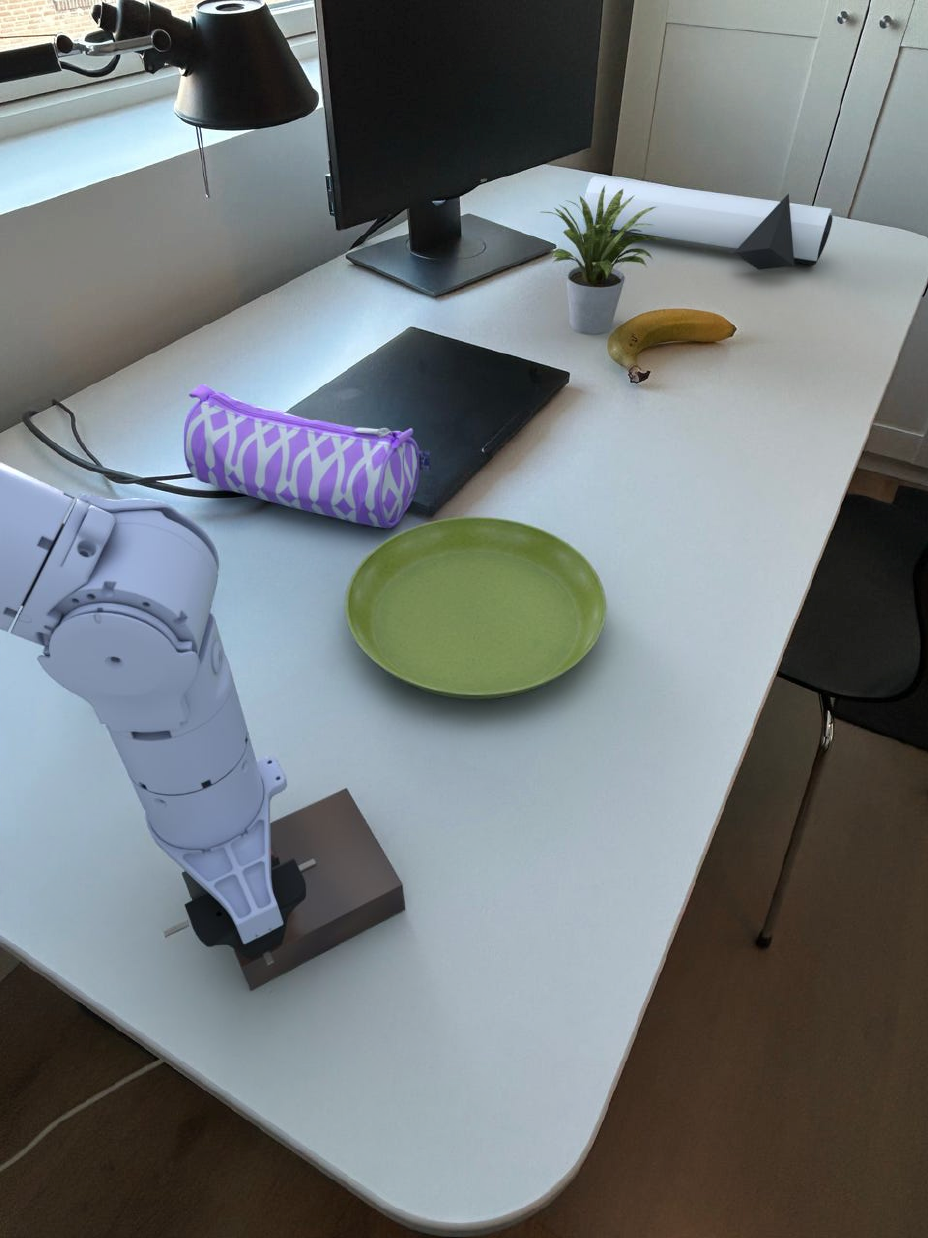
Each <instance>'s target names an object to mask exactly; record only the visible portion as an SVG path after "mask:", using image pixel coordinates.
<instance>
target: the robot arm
mask: <svg viewBox="0 0 928 1238" xmlns="http://www.w3.org/2000/svg"><path fill="white" fill-rule="evenodd" d="M75 499H76V500H75ZM74 501H75V502H74ZM73 503H74V504H73ZM72 504H73V506H72ZM71 506H72V507H71ZM70 509H71V510H70ZM69 510H70V511H69ZM68 513H69V514H68ZM67 515H68V516H67ZM66 516H67V518H66ZM65 519H66V520H65ZM219 570H220V559H219V552H218V550H217V548H216V545H215V543H214V542H213V540H212V538H211V537H210V535H209V534H208V533H207V532H206V531H205V530H204V529H203V528H202V527H201V526H200V525H199V524H198V523H197V522H195V521H194V520H193V519H191V518H190V517H189V516H187V515H185V514H183V513H181V512H179V511H178V510H177V509H175V508H174V507H173V505H171V504H169V503H167V502H164V501H159V500H155V499H149V498H148V499H147V498H138V497H137V498H123V499H107V498H104V497H101V496H99V495H97V494H95V493H92V492H91V494H90V495H86V494H85V493H80V494H79V495H78V497H77V498H76V496H74V495H73V494H69V493H68V492H65V491H63V490H61V489H58V488H57V487H55V486H52V485H51V484H49V483H47V482H44V481H42V480H39V479H37V478H36V477H34V476H31V475H29V474H27V473H25V472H22V471H20V470H18V469H17V468H14V467H12V466H10V465H7V464H5V463H3V462H1V461H0V630H1V631H4V632H6V633H8V632H9V630H10V629H11V630H10V634H11V635H14V636H16V637H19V638H22V639H24V640H27V641H29V642H32V643H34V644H37V645H39V646H42V647H44V648H43V650H42V654H41V655H38V656H37V658H36V661H38V663H39V665H40V666H41V668H42V670H44V672H45V673H46V675H48V676H49V678H51V679H52V680H53V681H55V683H57V684H58V685H59V686H61V687H62V688H63V689H65V690H67V691H69V692H71V693H72V694H74V695H76V696H78V697H80V698H81V699H83V701H85V702H87V703H88V704H89V705H90V706H91V708H92V709H93V711H94V713H95V716H96V717H97V720H98V721H99V724H100V725H105V727H106V729H107V731H108V733H109V735H110V738H111V740H112V742H113V744H114V747H115V749H116V751H117V753H118V755H119V757H120V760H121V761H122V764H123V767H124V769H125V771H126V772H127V775H128V778H129V779H130V781H131V784H132V787H133V789H134V790H135V793H136V795H137V797H138V799H139V802H140V803H141V806H142V808H143V810H144V819H145V823H146V827H147V829H148V832H149V834H150V836H151V838H152V839H153V841H154V844H156V845H157V846H158V847H159V848H160V849H161V850H162V851H163V852H164V853H165V854H166V855H168V857H169V858H171V859H172V860H173V861H174V862H175V863H176V864H177V866H179V867H180V868H181V869H183V870H184V871H186V872H187V873H188V874H189V875H190V876H191V877H192V878H193V879H195V880H196V881H197V882H198V883H199V884H200V885H201V886H202V887H203V888H204V889H205V890H206V891H207V892H209V893H207V894H205V895H202V896H200V897H198V898H196V899H194V900H192V899H191V900H190V901H188V902H186V903H184V908H185V910H186V913H187V916H188V919H189V921H190V924H191V927H192V929H193V932H194V933H195V936H196V937H197V939H198V940H199V941H200V943H202V944H203V945H204V946H206V947H207V948H213V947H217V946H228V947H229V948H232V949H233V950H234V949H235V950H236V951H237V952H238V953H239V954H241V955H242V956H244V957H245V958H247V959H249V960H252V959H254V958H256V957H258V956H260V955H262V954H264V953H266V952H268V951H270V950H272V949H274V948H275V947H277V946H279V945H281V944H282V943H283V940H284V936H285V931H286V925H287V920H288V917H289V915H290V913H291V912H292V911H293V910H294V909H295V907H296V906H297V905H299V904H300V903H301V902H302V901H303V900H304V899H305V898H306V883H305V880H304V877H303V875H302V873H301V871H300V869H299V867H298V865H297V863H296V861H295V859H294V858H292V859H290V860H288V861H286V862H284V863H282V864H280V865H278V866H276V867H274V868H272V869H271V837H270V823H271V800H272V798H273V797H274V796H276V795H278V794H280V793H282V792H284V791H285V790H286V789H287V787H288V781H287V777H286V774H285V772H284V770H283V768H282V767H281V764H280V763H279V761H278V759H276V758H275V757H273V756H265V757H263V758H260V759H258V760H257V758H256V755H255V752H254V748H253V745H252V741H251V737H250V734H249V731H248V730H249V729H248V725H247V723H246V719H245V715H244V712H243V707H242V705H241V702H240V698H239V694H238V691H237V688H236V687H237V686H236V683H235V680H234V677H233V673H232V669H231V666H230V663H229V659H228V657H227V655H226V652H225V650H224V646H223V642H222V639H221V635H220V632H219V627H218V624H217V621H216V617H215V615H214V614H213V613H212V612H211V609H212V605H213V601H214V597H215V593H216V590H217V586H218V582H219V581H218V580H219V572H220V571H219ZM21 607H22V608H21ZM19 611H20V612H19ZM18 612H19V614H18ZM17 615H18V616H17ZM16 617H17V618H16ZM15 619H16V620H15ZM14 620H15V621H14ZM12 624H13V626H12ZM11 627H12V628H11Z"/></svg>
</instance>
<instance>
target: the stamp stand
mask: <svg viewBox="0 0 928 1238" xmlns="http://www.w3.org/2000/svg"><path fill="white" fill-rule="evenodd" d="M270 837H271V842H272V844H273V846H274V849H275V851H276V853H277V855H278V857H279V861H280V864H282V863H284V862H286V861H288V860H290V859H292V858H294V859H295V861H296V863H297V865H298V867H299V869H300V871H301V873H302V875H303V877H304V880H305V883H306V898H305V899H304V900H303V901H302V902H301V903H300V904H299V905H297V906H296V907H295V909H294V910H293V911H292V912H291V913H290V915H289V917H288V920H287V925H286V931H285V936H284V940H283V943H282V944H281V945H279V946H277V947H275V948H274V949H272V950H270V951H268V952H266V953H264V954H262V955H260V956H258V957H256V958H254V959H252V960H249V959H247V958H245V957H244V956H242V955H241V954H239V953H238V952H237V951H236V950H235V949H233V952H234V954H235V957H236V959H237V962H238V964H239V966H240V969H241V971H242V974H243V977H244V979H245V981H246V984H247V986H248V989H249V990H250V992H252V991H253V990H256V989H258V988H259V987H261V986H263V985H265V984H267V983H269V982H271V981H272V980H274V979H276V978H278V977H280V976H282V975H284V974H286V973H288V972H289V971H291V970H294V969H295V968H297V967H299V966H301V965H303V964H305V963H307V962H308V961H311V960H313V959H314V958H316V957H318V956H320V955H322V954H324V953H325V952H327V951H329V950H331V949H333V948H335V947H338V946H339V945H341V944H343V943H344V942H346V941H348V940H350V939H352V938H354V937H357V936H358V935H360V934H362V933H364V932H365V931H368V930H369V929H371V928H373V927H375V926H377V925H379V924H380V923H383V922H385V921H386V920H388V919H390V918H392V917H394V916H396V915H398V914H400V913H401V912H403V911H405V910H406V903H405V901H406V900H405V894H404V885H403V882H402V880H401V879H400V877H399V875H398V874H397V872H396V870H395V869H394V867H393V865H392V863H391V862H390V859H389V858H388V857H387V855H386V853H385V851H384V850H383V847H382V846H381V844H380V843H379V841H378V839H377V837H376V836H375V834H374V832H373V831H372V829H371V827H370V825H369V824H368V822H367V820H366V819H365V817H364V815H363V813H362V812H361V809H360V808H359V807H358V804H357V803H356V801H355V800H354V798H353V796H352V794H351V793H350V791H349V789H348V788H347V787H345V788H343V789H341V790H338V791H336V792H335V793H333V794H330V795H328V796H326V797H324V798H321V799H319V800H317V801H315V802H312V803H311V804H308V805H306V806H305V807H302V808H300V809H298V810H295V811H293V812H291V813H289V814H287V815H285V816H282V817H279V818H278V819H275V820H274V821H270ZM189 927H190V923H189V920H188V919H186V920H184V921H182V922H180V923H177V924H176V925H174V926H171V927H170V928H167V929H165V930H163V931H162V933H163V936H164V937H165V939H166V938H168V937H170V936H172V935H174V934H177V933H178V932H180V931H182V930H184V929H187V928H189Z"/></svg>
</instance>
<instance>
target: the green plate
mask: <svg viewBox="0 0 928 1238" xmlns="http://www.w3.org/2000/svg"><path fill="white" fill-rule="evenodd" d="M344 610H345V618H346V621H347V626H348V628H349V631H350V633H351V635H352V637H353V638H354V640H355V641H356V644H357V645H358V646H359V647H360V649H361V650H362V651H363V652H364V653H365V654H366V655H367V656H368V657H369V658H370V660H372V661H373V662H374V663H375V664H376V665H377V666H379V667H380V668H381V669H382V670H383V671H386V672H387V673H388V674H390V675H391V676H393V677H394V678H396V679H398V680H399V681H402V682H403V683H406V684H407V685H410V686H412V687H415V688H417V689H419V690H422V691H424V692H428V693H432V694H435V695H438V696H444V697H449V698H456V699H465V700H467V699H469V700H485V699H486V700H489V699H499V698H504V697H511V696H515V695H519V694H523V693H526V692H529V691H531V690H534V689H537V688H539V687H542V686H544V685H546V684H548V683H551V682H552V681H555V680H556V679H557V678H559V677H561V676H562V675H564V674H565V673H567V672H568V671H570V670H571V669H573V667H574V666H576V665H577V664H579V662H581V660H583V659H584V658H585V656H586V655H588V654H589V652H590V651H591V650H592V648H593V647H594V646H595V644H596V643H597V641H598V639H599V637H600V636H601V634H602V631H603V629H604V625H605V622H606V617H607V598H606V593H605V590H604V587H603V584H602V581H601V579H600V577H599V575H598V573H597V571H596V570H595V569H594V567H593V566H592V564H591V563H590V562H589V561H588V559H586V557H585V556H584V555H583V554H582V553H581V552H579V550H577V549H576V548H575V547H573V546H572V545H571V544H570V543H568V542H567V541H565V540H563V539H561V538H560V537H558V536H557V535H555V534H553V533H551V532H549V531H546V530H544V529H541V528H538V527H536V526H533V525H530V524H526V523H523V522H520V521H516V520H510V519H505V518H500V517H489V516H488V517H487V516H460V517H450V518H444V519H443V518H442V519H439V520H433V521H430V522H426V523H421V524H418V525H417V526H416V525H415V526H413V527H410V528H407V529H405V530H403V531H401V532H399V533H396V534H395V535H393V536H391V537H389V538H388V539H386V540H384V541H383V542H381V544H379V545H378V546H376V547H375V548H374V549H373V550H372V551H370V552H369V553H368V554H367V555H366V556H365V557H364V558H363V560H362V561H361V562H360V563H359V565H358V566H357V567H356V568H355V570H354V572H353V574H352V576H351V578H350V580H349V583H348V585H347V588H346V591H345V600H344Z"/></svg>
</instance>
